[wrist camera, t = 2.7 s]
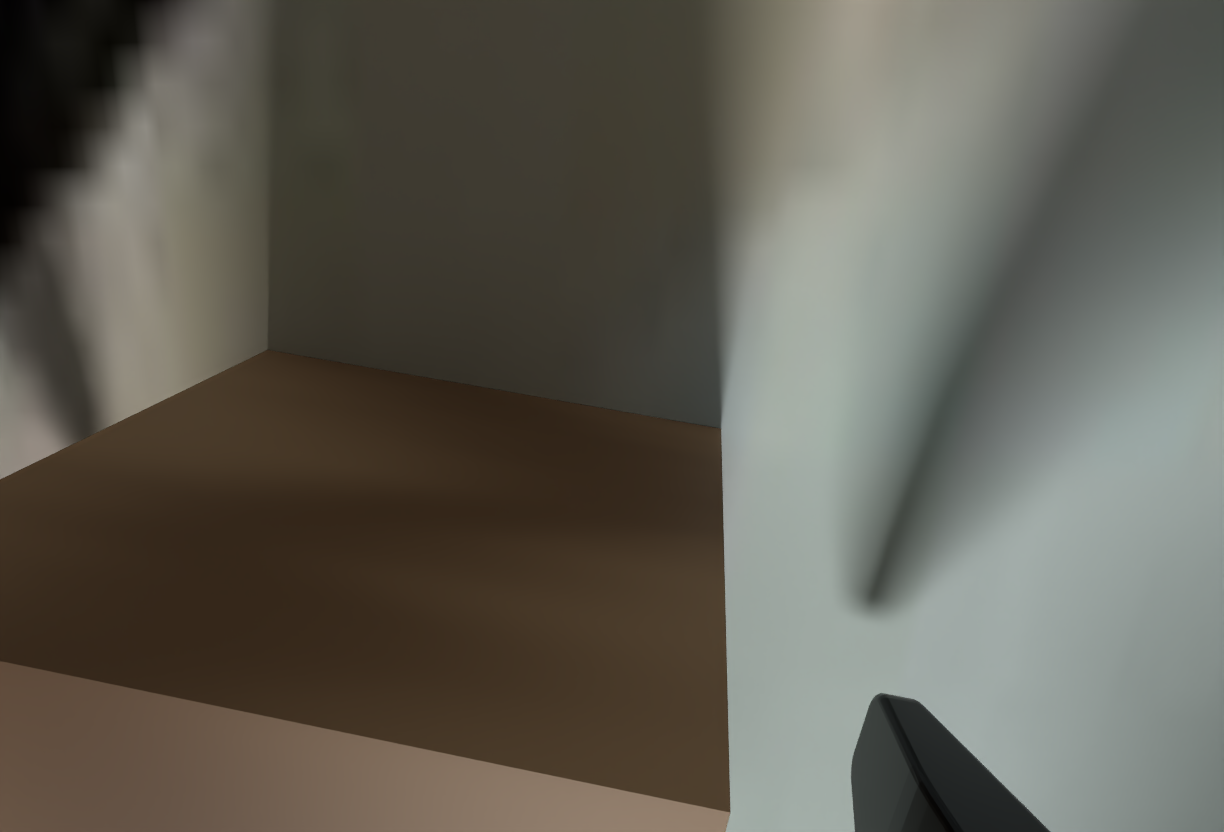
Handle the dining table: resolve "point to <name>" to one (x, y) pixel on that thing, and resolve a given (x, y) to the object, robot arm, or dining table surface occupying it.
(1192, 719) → the dining table surface
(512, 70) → the dining table surface
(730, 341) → the dining table surface
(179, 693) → the walnut cube
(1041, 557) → the dining table surface
